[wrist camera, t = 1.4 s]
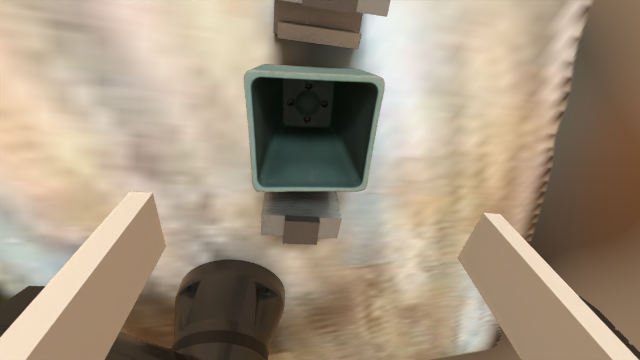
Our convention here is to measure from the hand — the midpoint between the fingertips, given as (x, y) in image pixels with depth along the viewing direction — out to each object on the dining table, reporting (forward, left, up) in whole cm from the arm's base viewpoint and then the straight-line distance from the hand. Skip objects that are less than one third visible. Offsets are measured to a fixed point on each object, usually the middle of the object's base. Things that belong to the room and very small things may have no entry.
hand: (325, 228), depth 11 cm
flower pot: (0, 0, -18) cm, 18 cm away
